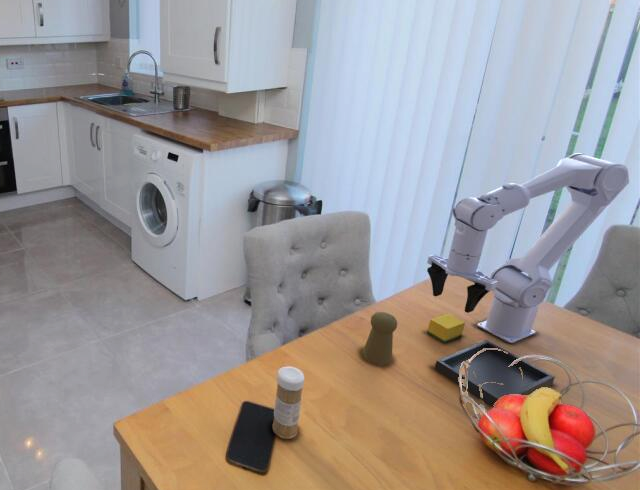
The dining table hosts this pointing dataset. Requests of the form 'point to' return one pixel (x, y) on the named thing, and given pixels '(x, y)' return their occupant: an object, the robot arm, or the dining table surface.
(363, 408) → the dining table surface
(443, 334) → the sponge
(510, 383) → the tray
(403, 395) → the dining table surface
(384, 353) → the olive pawn
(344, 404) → the dining table surface
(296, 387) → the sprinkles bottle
